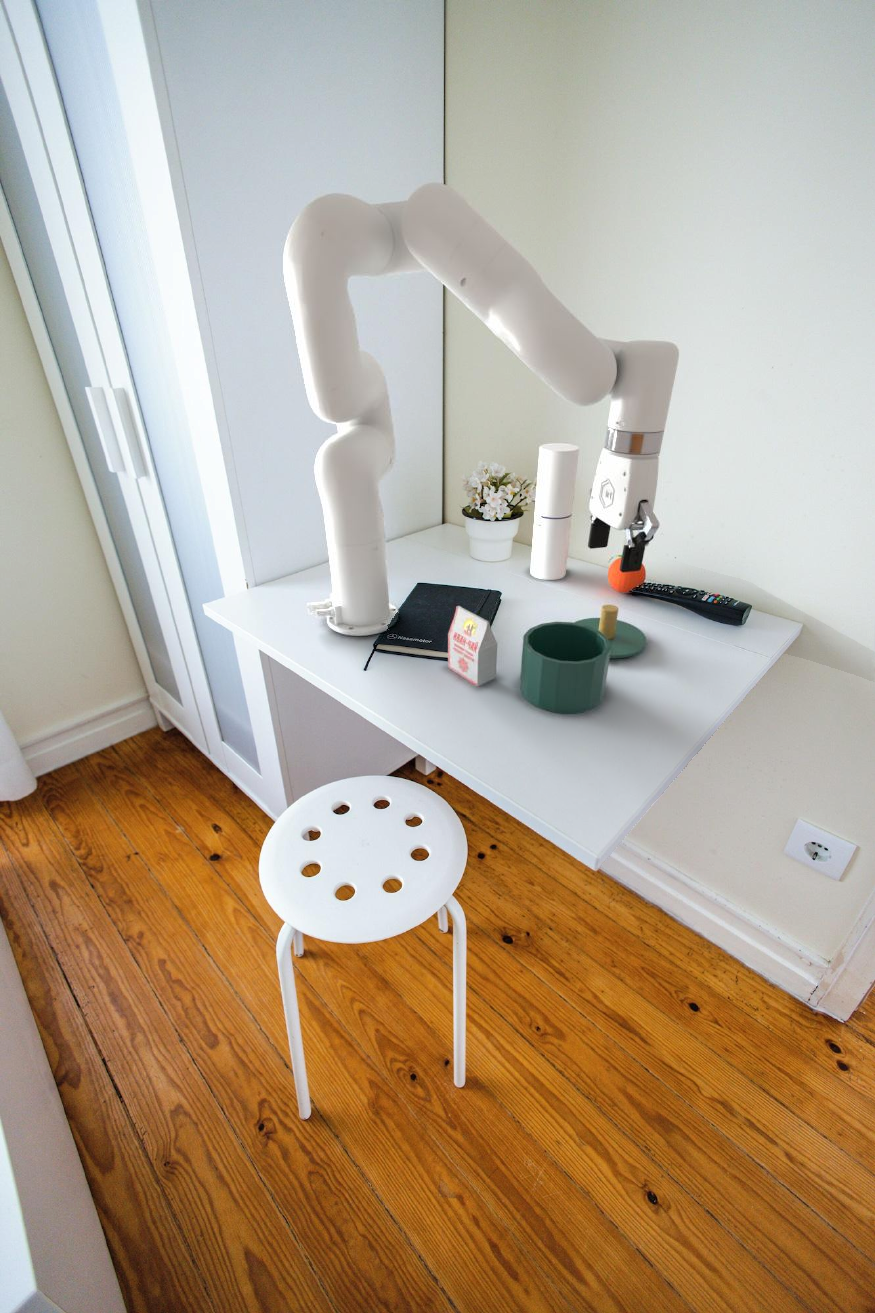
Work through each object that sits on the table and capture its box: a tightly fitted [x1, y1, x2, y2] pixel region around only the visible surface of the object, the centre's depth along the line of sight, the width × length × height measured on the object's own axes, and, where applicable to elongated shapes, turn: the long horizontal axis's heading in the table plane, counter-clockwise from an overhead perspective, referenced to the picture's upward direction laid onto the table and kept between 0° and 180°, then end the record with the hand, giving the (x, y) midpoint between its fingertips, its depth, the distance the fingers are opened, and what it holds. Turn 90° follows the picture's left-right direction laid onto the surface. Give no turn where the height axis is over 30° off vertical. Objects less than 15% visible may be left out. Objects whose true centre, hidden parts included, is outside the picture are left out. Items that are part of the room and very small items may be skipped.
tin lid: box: [573, 604, 648, 659], centre depth 97 cm, size 13×13×6 cm
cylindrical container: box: [530, 442, 580, 581], centre depth 117 cm, size 7×7×25 cm
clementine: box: [607, 554, 647, 594], centre depth 114 cm, size 8×7×7 cm
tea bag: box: [447, 605, 498, 687], centre depth 88 cm, size 4×7×10 cm, turn 38°
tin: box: [519, 621, 611, 715], centre depth 85 cm, size 12×12×8 cm
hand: (612, 558), depth 91 cm, fingers open, 9 cm apart
